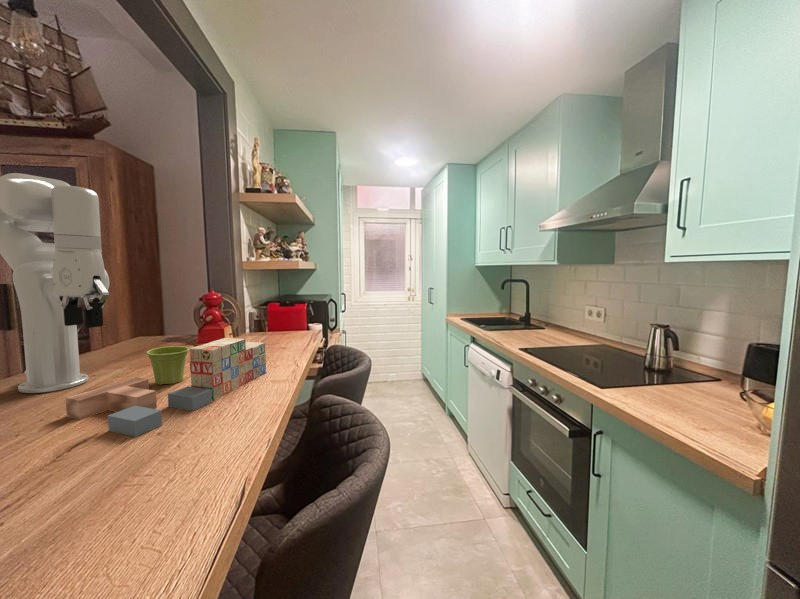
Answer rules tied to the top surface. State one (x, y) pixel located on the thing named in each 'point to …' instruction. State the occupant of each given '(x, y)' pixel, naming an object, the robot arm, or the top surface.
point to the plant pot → (168, 363)
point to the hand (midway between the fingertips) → (84, 325)
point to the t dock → (156, 411)
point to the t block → (112, 398)
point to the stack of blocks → (226, 364)
